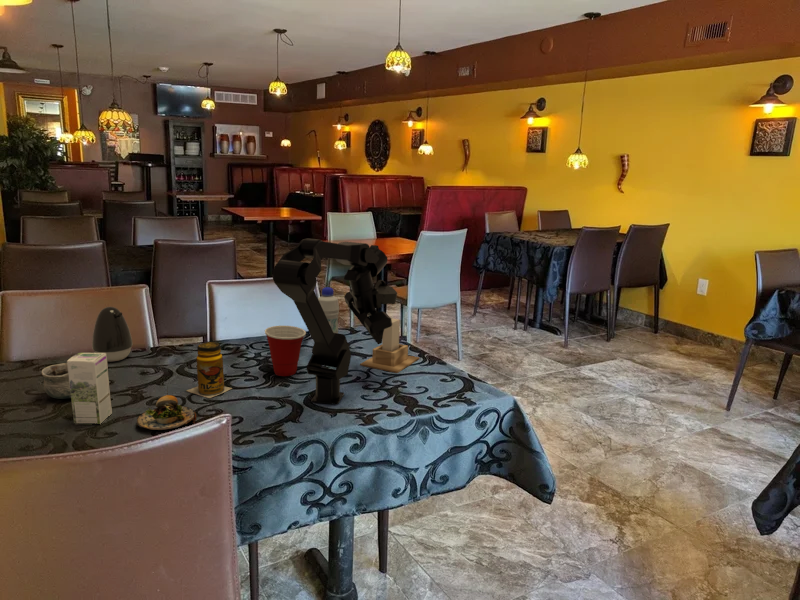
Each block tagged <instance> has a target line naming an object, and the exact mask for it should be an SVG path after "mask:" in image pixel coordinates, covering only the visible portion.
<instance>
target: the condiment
mask: <svg viewBox="0 0 800 600" xmlns="http://www.w3.org/2000/svg"><path fill="white" fill-rule="evenodd" d="M221 351H222V349H221V344H220V343H218V342H216V341H215V342H214V341H207V342H203V343H202V342H201V343H200V344H198V345H197V356H196V359H195V360H196V373H197V376H196V377H197V386H196V387H192V388H191V389H187V390H186V392H188V393H191V394H195V395H198V396H200V397H204V398H207V399H211V398H213V397H216V396H220V395H222V394H223V393H227V392H228V391H230V390H232V389H233V388H232V387H228V386H225V381H224V380H225V377H224V361H223V360H224V358H223V354H222V353H221Z"/></svg>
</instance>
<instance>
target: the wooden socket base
mask: <svg viewBox="0 0 800 600" xmlns="http://www.w3.org/2000/svg"><path fill="white" fill-rule="evenodd" d="M419 360H420V356H419V357H418V356H412V355H409V345H406V344H402V343H399V349H397V350H395V351H393V352H391V351H386V350H382V344H379V345H378V346H376V347H374V348H372V357H370V358H368V359H366V360H365V361H362V362H360V363H359V366H361V367H366V368H370V369H374V370H375V369H376V370H381V371H385V372H389V373H390V372H391V373H395V374H399V373H400V372H401V371H403V370H405V369H406V368H408V367H409V366H411V365H413V364H414V363H416V362H418V361H419Z"/></svg>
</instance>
